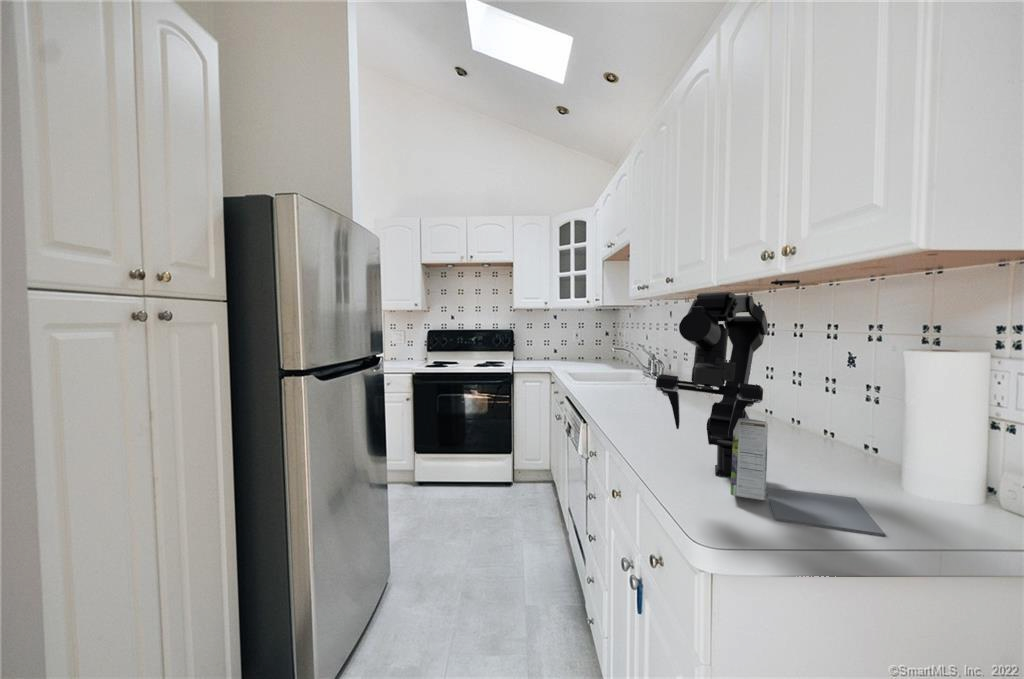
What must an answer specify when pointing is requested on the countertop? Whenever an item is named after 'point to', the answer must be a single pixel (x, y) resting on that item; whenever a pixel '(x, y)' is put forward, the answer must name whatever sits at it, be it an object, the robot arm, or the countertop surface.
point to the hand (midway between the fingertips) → (702, 433)
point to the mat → (821, 511)
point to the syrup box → (749, 459)
